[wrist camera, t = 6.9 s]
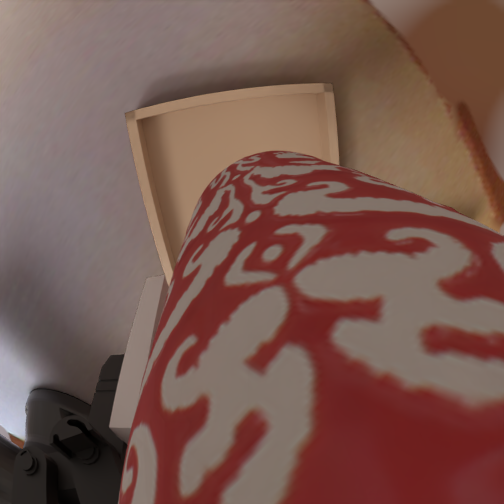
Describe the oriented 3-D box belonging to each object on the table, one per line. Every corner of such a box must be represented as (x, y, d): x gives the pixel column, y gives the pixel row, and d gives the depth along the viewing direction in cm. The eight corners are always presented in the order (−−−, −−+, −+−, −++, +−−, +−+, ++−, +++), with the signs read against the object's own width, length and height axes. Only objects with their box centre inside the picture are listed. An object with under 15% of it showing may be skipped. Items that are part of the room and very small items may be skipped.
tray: (178, 295, 27) (177, 311, 25) (133, 112, 19) (124, 112, 17) (330, 267, 28) (340, 280, 25) (320, 85, 20) (332, 82, 18)
